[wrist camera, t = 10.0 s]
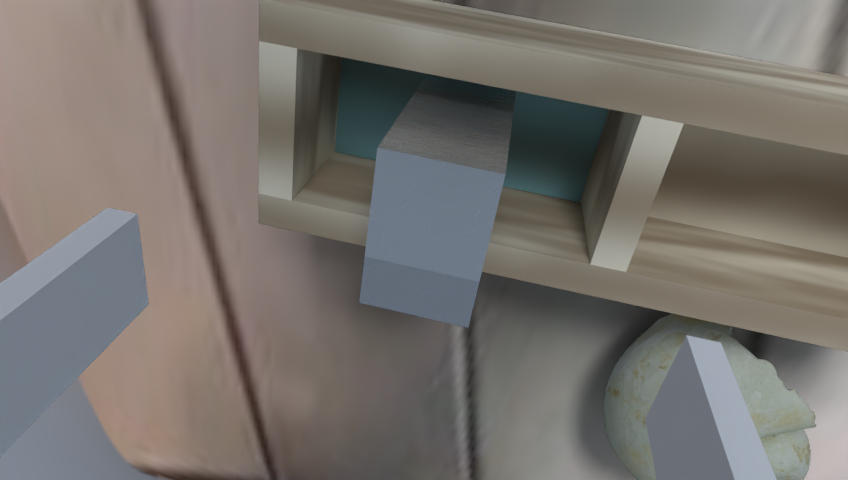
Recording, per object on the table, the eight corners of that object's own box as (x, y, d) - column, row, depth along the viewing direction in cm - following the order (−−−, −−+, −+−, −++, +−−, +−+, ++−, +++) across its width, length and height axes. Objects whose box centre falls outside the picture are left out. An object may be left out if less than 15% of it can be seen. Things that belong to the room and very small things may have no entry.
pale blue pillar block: (432, 65, 27) (377, 147, 18) (517, 82, 27) (505, 174, 18) (414, 180, 30) (359, 302, 21) (490, 196, 30) (468, 327, 21)
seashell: (842, 549, 30) (640, 572, 31) (767, 440, 37) (606, 463, 38) (844, 334, 25) (607, 373, 27) (758, 259, 32) (576, 293, 34)
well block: (320, -21, 27) (259, -1, 21) (1001, 105, 25) (1145, 166, 19) (310, 164, 32) (258, 223, 26) (882, 284, 30) (967, 377, 24)
